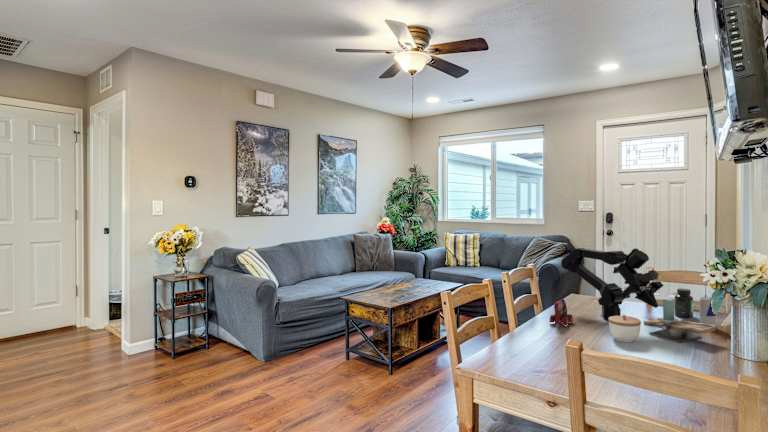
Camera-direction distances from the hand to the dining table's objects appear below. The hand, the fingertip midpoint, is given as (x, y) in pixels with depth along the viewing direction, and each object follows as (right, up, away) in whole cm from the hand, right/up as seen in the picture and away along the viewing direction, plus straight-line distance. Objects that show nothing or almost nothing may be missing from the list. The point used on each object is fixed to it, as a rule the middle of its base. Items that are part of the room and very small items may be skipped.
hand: (656, 307), depth 170 cm
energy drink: (+22, -9, +2) cm, 24 cm away
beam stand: (+3, -10, -6) cm, 12 cm away
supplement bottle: (+24, -8, +19) cm, 32 cm away
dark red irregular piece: (-32, -10, +14) cm, 37 cm away
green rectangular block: (+2, -5, -4) cm, 7 cm away
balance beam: (+4, -6, -7) cm, 10 cm away
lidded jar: (-18, -11, -8) cm, 22 cm away
